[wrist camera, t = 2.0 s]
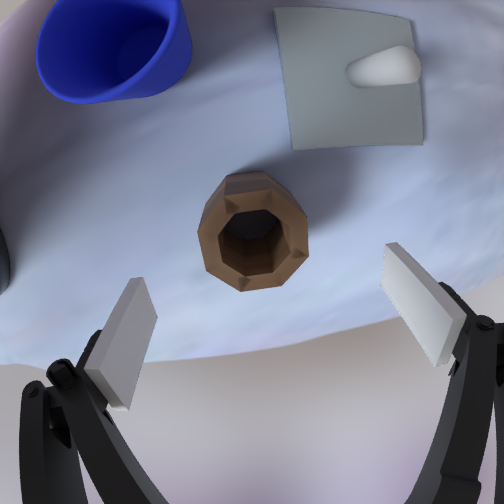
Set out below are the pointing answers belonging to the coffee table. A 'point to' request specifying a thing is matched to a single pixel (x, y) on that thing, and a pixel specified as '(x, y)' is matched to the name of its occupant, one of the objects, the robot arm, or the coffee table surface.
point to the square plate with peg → (349, 78)
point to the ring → (253, 250)
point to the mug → (112, 49)
